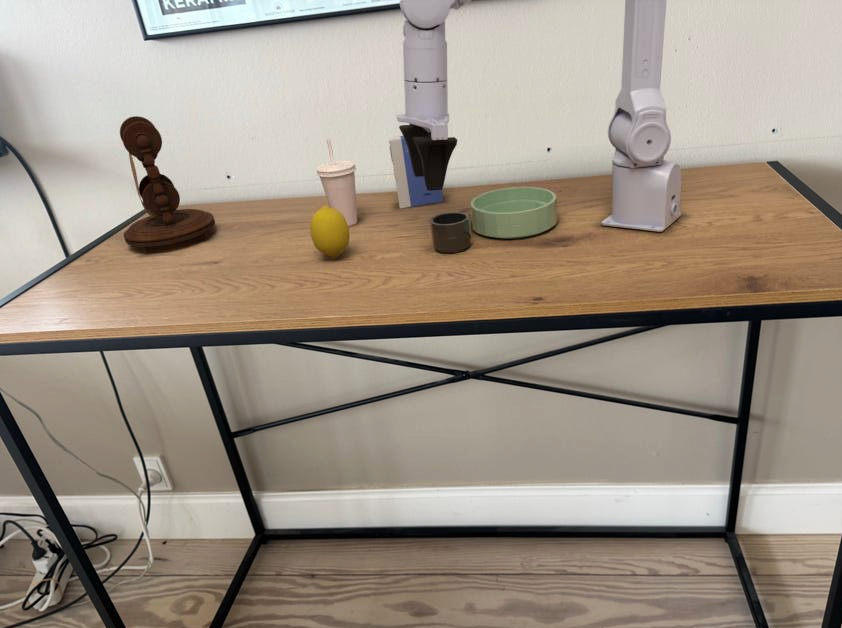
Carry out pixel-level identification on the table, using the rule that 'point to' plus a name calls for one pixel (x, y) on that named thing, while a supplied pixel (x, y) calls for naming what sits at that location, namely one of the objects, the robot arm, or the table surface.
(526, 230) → the sage bowl
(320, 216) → the lemon
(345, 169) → the smoothie
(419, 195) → the walkman
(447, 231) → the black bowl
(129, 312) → the table surface
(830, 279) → the table surface
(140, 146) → the brown pulley stand
